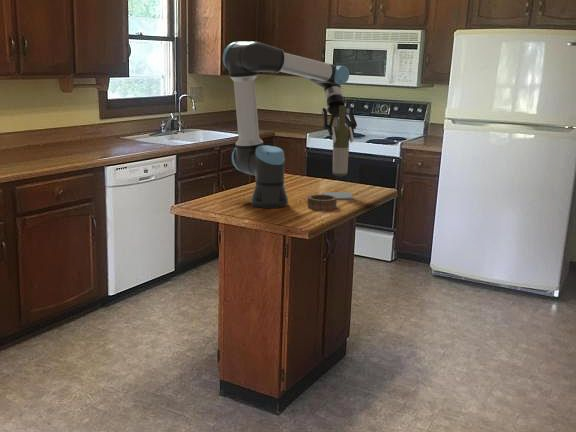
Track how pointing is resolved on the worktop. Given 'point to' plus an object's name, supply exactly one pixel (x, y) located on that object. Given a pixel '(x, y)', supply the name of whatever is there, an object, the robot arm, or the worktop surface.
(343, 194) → the mat
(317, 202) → the ring stand
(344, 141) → the bottle
